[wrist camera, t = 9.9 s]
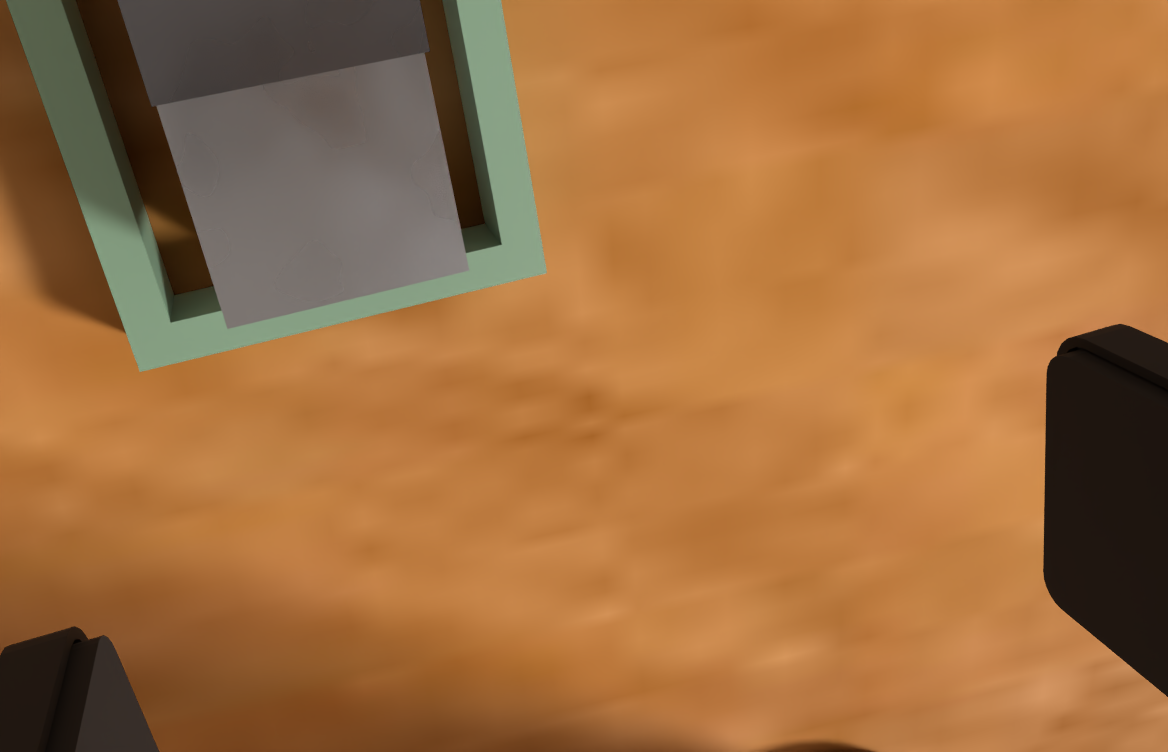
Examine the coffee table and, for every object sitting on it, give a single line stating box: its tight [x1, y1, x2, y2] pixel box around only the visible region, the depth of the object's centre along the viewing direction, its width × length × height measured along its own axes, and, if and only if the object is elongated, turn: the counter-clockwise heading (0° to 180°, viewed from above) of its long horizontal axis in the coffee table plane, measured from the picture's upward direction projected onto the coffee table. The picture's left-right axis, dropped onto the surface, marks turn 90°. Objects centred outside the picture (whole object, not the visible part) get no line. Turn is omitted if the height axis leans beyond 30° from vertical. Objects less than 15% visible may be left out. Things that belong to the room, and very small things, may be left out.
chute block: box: [117, 0, 469, 329], centre depth 23 cm, size 7×5×7 cm
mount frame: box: [6, 0, 547, 372], centre depth 24 cm, size 11×10×3 cm
